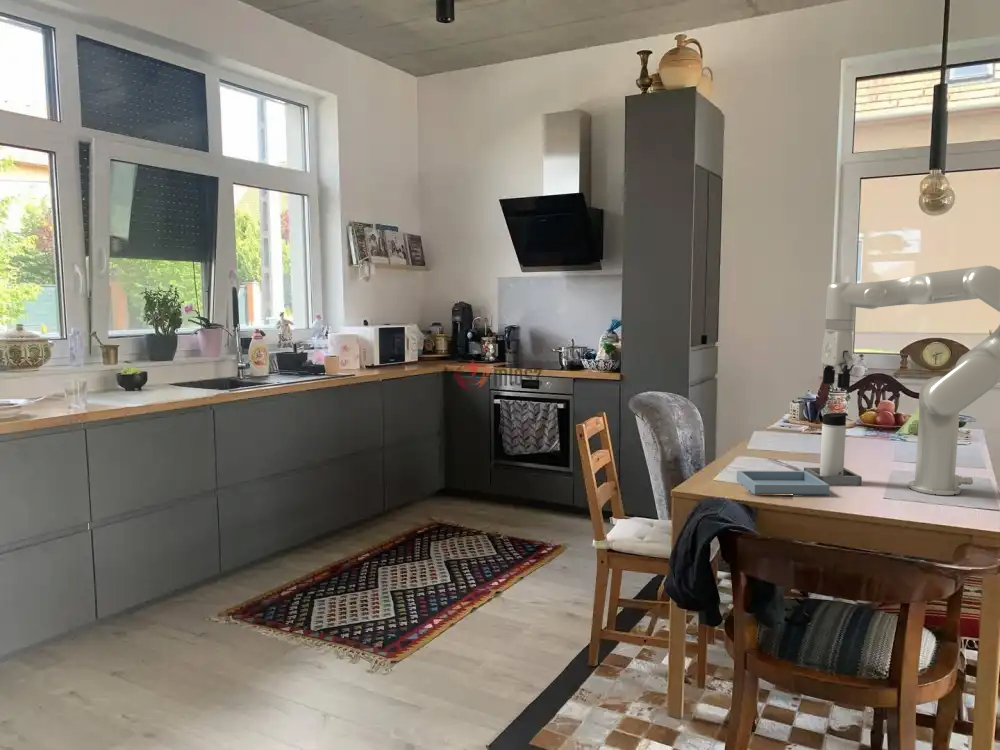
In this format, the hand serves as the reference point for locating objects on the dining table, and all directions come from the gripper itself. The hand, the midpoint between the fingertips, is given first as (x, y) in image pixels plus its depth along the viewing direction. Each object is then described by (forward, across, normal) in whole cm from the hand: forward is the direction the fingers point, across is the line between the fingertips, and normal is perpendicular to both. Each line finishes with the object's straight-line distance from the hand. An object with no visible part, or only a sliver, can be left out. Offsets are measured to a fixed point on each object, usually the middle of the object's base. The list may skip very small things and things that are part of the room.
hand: (835, 385), depth 214 cm
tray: (+28, +9, -18) cm, 34 cm away
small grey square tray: (+28, 0, 0) cm, 28 cm away
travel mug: (+28, 0, 0) cm, 28 cm away
